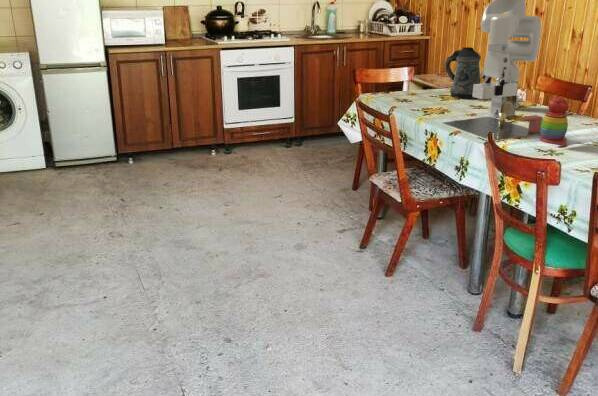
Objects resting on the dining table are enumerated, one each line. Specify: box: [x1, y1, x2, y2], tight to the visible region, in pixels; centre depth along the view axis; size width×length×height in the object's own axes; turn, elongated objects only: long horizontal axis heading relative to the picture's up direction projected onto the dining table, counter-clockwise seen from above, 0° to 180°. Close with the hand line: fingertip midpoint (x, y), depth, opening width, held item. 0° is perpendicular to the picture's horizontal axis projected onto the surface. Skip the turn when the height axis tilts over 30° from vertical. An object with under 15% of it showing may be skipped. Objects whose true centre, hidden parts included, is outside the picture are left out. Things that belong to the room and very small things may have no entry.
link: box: [472, 81, 519, 100], centre depth 236 cm, size 17×6×5 cm, turn 114°
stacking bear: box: [539, 95, 571, 149], centre depth 219 cm, size 11×10×18 cm
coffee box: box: [489, 80, 519, 119], centre depth 259 cm, size 9×6×16 cm
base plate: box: [442, 115, 541, 142], centre depth 242 cm, size 26×32×1 cm
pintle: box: [498, 113, 507, 127], centre depth 242 cm, size 3×3×6 cm
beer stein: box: [444, 46, 482, 100], centre depth 302 cm, size 16×19×25 cm
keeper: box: [515, 114, 543, 133], centre depth 232 cm, size 10×4×6 cm, turn 114°
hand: (493, 93), depth 236 cm, fingers closed on link, 6 cm apart
